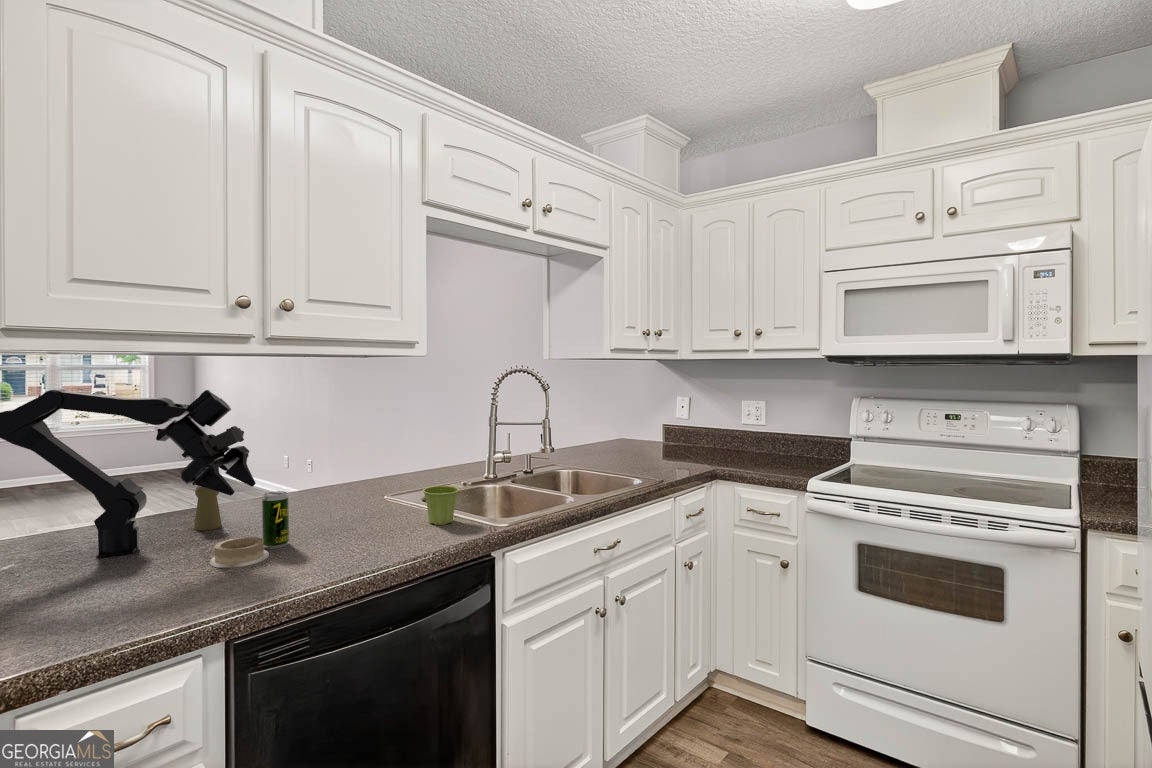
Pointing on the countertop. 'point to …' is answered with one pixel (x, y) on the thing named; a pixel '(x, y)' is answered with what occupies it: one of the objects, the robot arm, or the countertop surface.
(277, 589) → the countertop surface
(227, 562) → the can holder
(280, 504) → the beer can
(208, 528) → the cork
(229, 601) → the countertop surface
